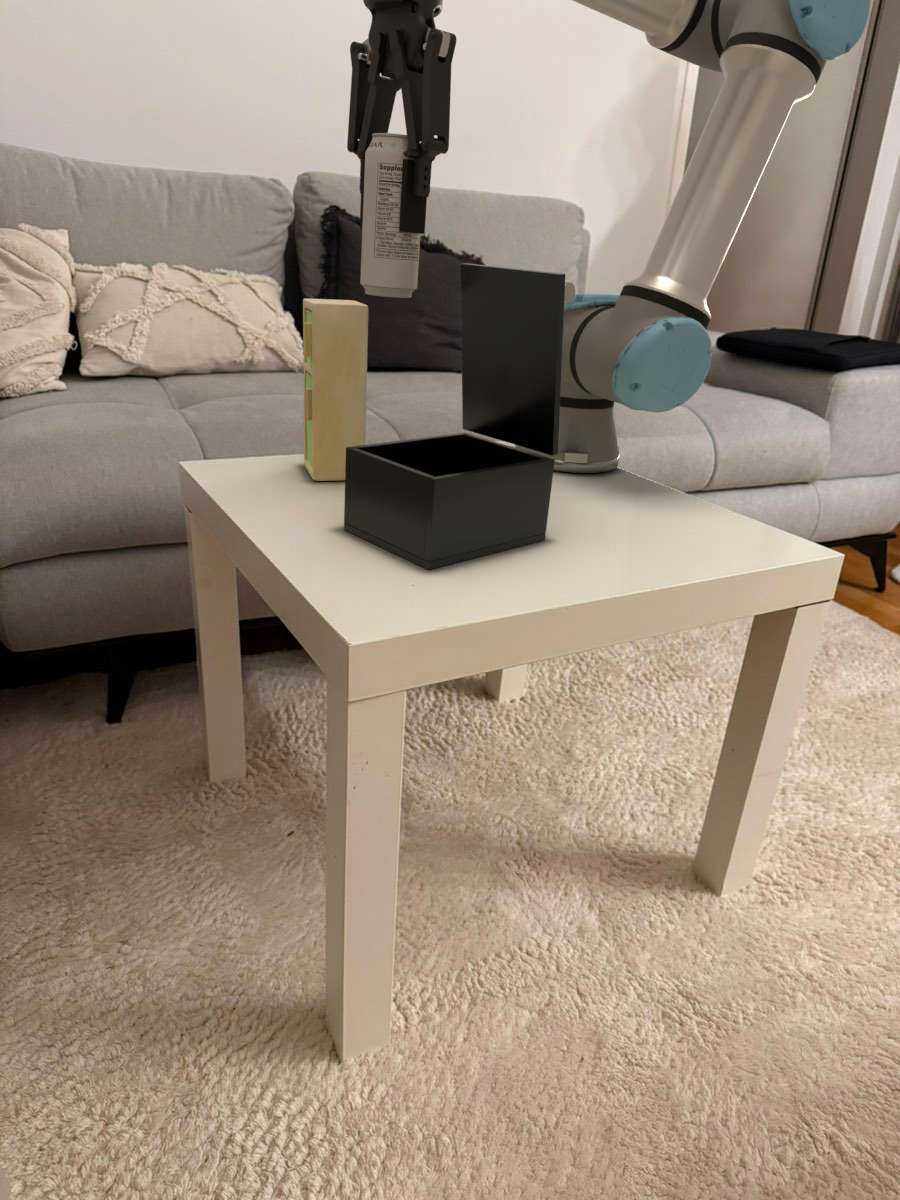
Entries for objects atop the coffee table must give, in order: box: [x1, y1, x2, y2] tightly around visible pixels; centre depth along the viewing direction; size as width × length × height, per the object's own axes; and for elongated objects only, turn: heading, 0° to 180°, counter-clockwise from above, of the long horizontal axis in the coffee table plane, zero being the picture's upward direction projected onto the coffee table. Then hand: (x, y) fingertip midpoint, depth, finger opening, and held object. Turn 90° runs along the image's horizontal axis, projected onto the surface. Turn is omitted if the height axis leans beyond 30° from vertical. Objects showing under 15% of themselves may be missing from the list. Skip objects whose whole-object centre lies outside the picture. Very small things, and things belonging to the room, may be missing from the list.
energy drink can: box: [360, 132, 421, 299], centre depth 88 cm, size 6×6×15 cm
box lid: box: [460, 262, 576, 456], centre depth 89 cm, size 18×14×6 cm
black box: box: [343, 432, 555, 571], centre depth 88 cm, size 17×14×9 cm
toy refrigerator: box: [302, 298, 369, 482], centre depth 105 cm, size 8×7×21 cm
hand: (391, 230), depth 88 cm, fingers closed on energy drink can, 6 cm apart
